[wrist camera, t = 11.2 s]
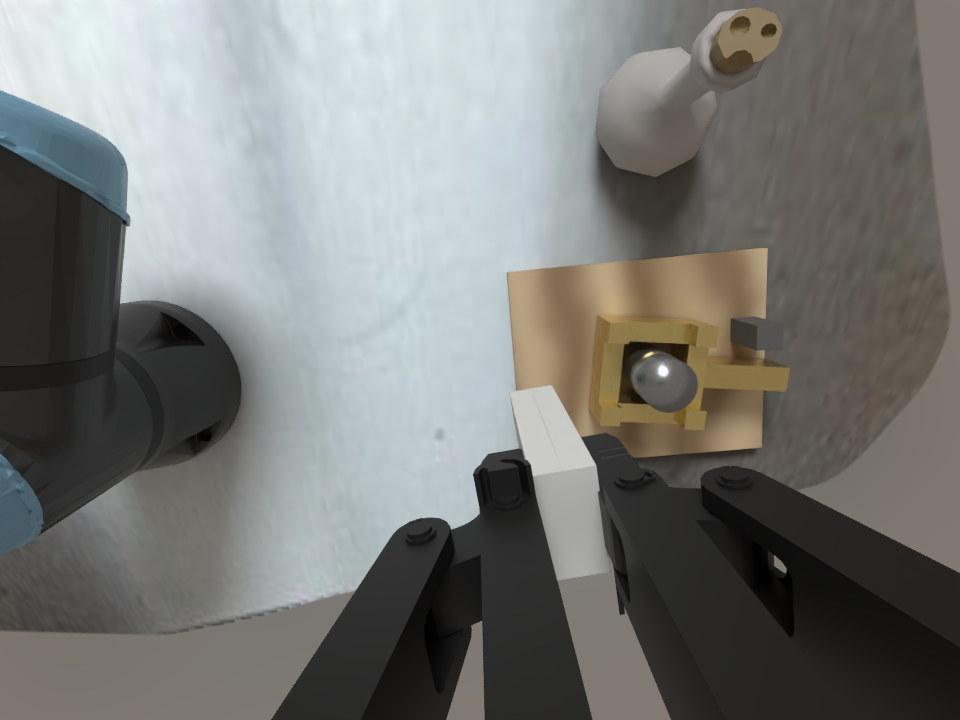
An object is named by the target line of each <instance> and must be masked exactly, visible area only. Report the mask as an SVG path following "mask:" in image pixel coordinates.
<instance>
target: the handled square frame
mask: <svg viewBox="0 0 960 720" xmlns="http://www.w3.org/2000/svg"><path fill="white" fill-rule="evenodd" d="M718 332H719V327H717V326H714V325H711V324H708V323H705V322H702V321H699V320H696V319H684V318H661V317H638V316H615V315H597V319H596V330H595V340H594V351H593V362H592V373H591V383H590V394H589V405H588V408H589V409H590V411H591V412H592V414H593V415H594V417H595V419H596V420H597V422H598V423H599V425H600V426H619V427H620V422H638V423H660V424H679V425H680V426H681V427H682V428H683V429H686V430H704V427H705V420H706V414H707V411H706V410H704V409H703V408H701V400H702V393H703V388H719V389H741V390H764V391H786V388H787V383H788V377H789V372H790V367H787V366H785V365H782V364H779V363H777V362H774V361H772V360H769V359H762V358H739V357H716V356H708V352H709V347H711V348H716V346H717V339H718ZM629 341H633V342H656V343H672V349H671V356H673V357H675V358H677V359H678V360H680V361H682V362H684V363H685V364H687V365H688V366H690V367H691V368H692V369H693V371H694V372H695V374H696V377H697V380H698V389H697V393H696V395H695V397H694V399H693V400H692V402H691V403H690V404H689V405H688V406H687V407H685V408H684V409H682V410H680V411H677V412H672V413H665V412H660V411H658V410H656V409H654V408H652V407H651V406H650V405H649V404H648V403H647V402H646V401H645V400H644V399H643V398H642V397H641V396H640V395H639V394H638V393H637V392H619V389H620V380H621V370H622V361H623V352H624V344H629Z"/></svg>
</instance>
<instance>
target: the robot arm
mask: <svg viewBox="0 0 960 720" xmlns="http://www.w3.org/2000/svg"><path fill="white" fill-rule="evenodd" d="M127 183H128V171H127V166H126V162H125V160H124V158H123V156H122V154H121V153H120V152H119V150H118V149H117V148H116V147H115V146H114V145H113V144H112V143H111V142H110V141H108V140H107V139H106V138H104V137H103V136H101V135H100V134H98V133H96V132H95V131H93V130H91V129H89V128H87V127H85V126H83V125H81V124H79V123H77V122H75V121H72V120H70V119H68V118H66V117H63V116H61V115H59V114H57V113H54V112H52V111H50V110H47V109H45V108H43V107H40V106H38V105H35V104H33V103H31V102H28V101H26V100H23V99H21V98H18V97H16V96H13V95H11V94H8V93H6V92H3V91H1V90H0V556H2V555H3V554H5V553H7V552H9V551H11V550H14V549H18V548H20V547H23V546H24V545H25V544H28V543H30V542H31V541H32V540H34V539H35V538H36V537H37V536H39V535H40V534H42V533H43V532H45V531H46V530H48V529H49V528H51V527H52V526H54V525H55V524H57V523H58V522H60V521H61V520H63V519H64V518H66V517H67V516H69V515H70V514H72V513H73V512H75V511H77V510H78V509H80V508H81V507H83V506H84V505H86V504H87V503H89V502H90V501H92V500H93V499H95V498H96V497H98V496H99V495H101V494H102V493H104V492H105V491H107V490H108V489H110V488H111V487H113V486H114V485H116V484H117V483H119V482H120V481H122V480H123V479H125V478H126V477H128V476H129V475H131V474H133V473H134V472H137V471H142V470H148V469H153V468H158V467H164V466H169V465H174V464H178V463H181V462H184V461H187V460H189V459H191V458H194V457H195V456H197V455H199V454H201V453H202V452H204V451H205V450H206V449H208V448H209V447H211V446H212V445H213V444H215V443H216V442H217V441H219V440H220V439H221V438H222V437H223V436H224V435H225V433H226V432H227V431H228V429H229V428H230V426H231V425H232V423H233V421H234V419H235V417H236V414H237V411H238V408H239V404H240V396H241V385H240V377H239V372H238V368H237V365H236V362H235V360H234V357H233V355H232V353H231V351H230V349H229V348H228V346H227V344H226V343H225V341H224V340H223V339H222V337H221V336H220V335H219V334H218V333H217V332H216V330H215V329H214V328H213V327H212V326H210V325H209V324H208V323H207V322H206V321H204V320H203V319H202V318H200V317H199V316H197V315H196V314H194V313H192V312H191V311H189V310H187V309H184V308H182V307H180V306H177V305H174V304H170V303H166V302H161V301H136V302H129V303H122V304H120V295H121V282H122V270H123V258H124V246H125V234H126V226H130V221H131V220H130V216H129V215H128V213H127ZM509 393H510V398H511V404H512V410H513V416H514V422H515V428H516V434H517V440H518V446H519V449H515V450H509V451H503V452H497V453H491V454H488V455H487V456H486V458H485V459H484V460H483V461H482V464H481V465H480V466H478V467H477V468H476V469H475V471H474V474H473V476H474V481H475V486H476V492H477V497H478V502H479V507H480V514H479V515H478V516H477V517H476V518H475V519H474V520H472V521H470V522H469V523H467V524H465V525H463V526H461V527H458V528H455V529H452V530H451V528H450V526H449V524H448V523H447V522H446V521H444V520H442V519H440V518H420V519H416V520H415V521H414V520H413V521H411V522H409V523H407V524H406V525H404V526H402V527H401V528H399V529H398V530H397V531H396V532H395V533H394V534H393V535H392V537H391V538H390V540H389V541H388V543H387V544H386V546H385V547H384V549H383V550H382V552H381V553H380V555H379V556H378V558H377V559H376V561H375V563H374V564H373V566H372V567H371V569H370V570H369V572H368V573H367V575H366V576H365V578H364V579H363V581H362V582H361V584H360V585H359V587H358V588H357V590H356V591H355V593H354V595H353V596H352V598H351V599H350V601H349V602H348V604H347V605H346V607H345V608H344V610H343V612H342V613H341V614H340V616H339V617H338V619H337V620H336V622H335V623H334V625H333V626H332V628H331V629H330V631H329V633H328V634H327V636H326V637H325V639H324V640H323V642H322V643H321V645H320V646H319V648H318V649H317V651H316V653H315V654H314V655H313V657H312V658H311V660H310V662H309V663H308V664H307V666H306V668H305V669H304V671H303V672H302V674H301V675H300V677H299V678H298V680H297V681H296V683H295V684H294V686H293V687H292V689H291V690H290V692H289V693H288V695H287V697H286V698H285V700H284V701H283V703H282V704H281V706H280V707H279V709H278V710H277V712H276V713H275V715H274V716H273V718H272V719H271V720H446V718H447V715H448V712H449V709H450V705H451V702H452V699H453V696H454V692H455V689H456V685H457V682H458V679H459V676H460V673H461V669H462V666H463V663H464V659H465V656H466V653H467V650H468V646H469V643H470V640H471V632H472V631H471V630H472V629H471V625H473V624H475V623H478V622H480V621H482V626H483V666H484V667H483V668H484V705H485V706H484V708H485V720H592V716H591V712H590V708H589V705H588V701H587V696H586V693H585V689H584V685H583V681H582V677H581V673H580V669H579V665H578V661H577V657H576V653H575V649H574V645H573V642H572V637H571V634H570V629H569V625H568V621H567V618H566V613H565V609H564V606H563V601H562V597H561V593H560V589H559V585H558V582H557V580H563V579H569V578H575V577H581V576H588V575H594V574H600V573H606V572H610V565H609V558H608V554H609V557H610V559H611V561H612V563H613V567H614V575H615V582H616V590H617V597H618V605H619V612H620V615H622V614H625V611H624V606H625V609H626V611H627V614H628V616H629V619H630V621H631V623H632V625H633V628H634V630H635V633H636V635H637V638H638V640H639V643H640V645H641V647H642V650H643V652H644V655H645V657H646V660H647V662H648V665H649V667H650V669H651V672H652V674H653V677H654V679H655V682H656V684H657V686H658V689H659V691H660V694H661V696H662V699H663V701H664V703H665V706H666V708H667V711H668V713H669V715H670V718H671V720H960V573H958V572H957V571H955V570H953V569H951V568H949V567H947V566H945V565H943V564H940V563H939V562H936V561H935V560H932V559H931V558H929V557H927V556H925V555H923V554H921V553H919V552H917V551H915V550H913V549H911V548H909V547H907V546H905V545H903V544H901V543H899V542H897V541H895V540H893V539H891V538H889V537H887V536H885V535H883V534H881V533H879V532H877V531H875V530H873V529H871V528H869V527H867V526H865V525H863V524H861V523H859V522H857V521H855V520H853V519H851V518H849V517H847V516H845V515H843V514H841V513H839V512H837V511H835V510H833V509H831V508H829V507H827V506H825V505H823V504H821V503H819V502H818V501H816V500H814V499H812V498H809V497H807V496H806V495H804V494H801V493H800V492H798V491H796V490H794V489H792V488H790V487H788V486H786V485H784V484H782V483H780V482H778V481H776V480H774V479H772V478H770V477H768V476H766V475H764V474H762V473H760V472H757V471H754V470H751V469H747V468H741V467H738V466H731V467H729V466H723V467H721V468H715V469H712V470H709V471H707V472H705V473H704V474H703V475H702V477H701V488H672V487H668V485H667V484H666V483H665V482H664V480H663V479H662V478H661V477H660V476H659V475H658V474H656V473H655V472H653V471H650V470H647V469H641V468H640V467H639V465H638V464H637V463H636V461H635V460H634V459H633V457H632V456H631V455H630V454H629V452H628V451H627V449H626V448H625V447H624V445H623V444H622V443H621V441H620V440H619V439H618V438H617V437H614V436H612V435H610V434H608V433H602V434H596V435H590V436H584V437H580V435H579V433H578V432H577V430H576V428H575V426H574V424H573V423H572V421H571V419H570V417H569V415H568V414H567V412H566V410H565V408H564V406H563V405H562V403H561V401H560V399H559V397H558V396H557V394H556V392H555V390H554V388H553V387H552V385H549V386H543V387H537V388H531V389H526V390H520V391H514V392H509ZM774 555H775V556H776V557H777V558H778V559H780V560H781V561H782V562H783V564H784V565H785V566H786V568H787V572H786V574H785V573H783V572H782V571H780V570H779V569H777V568H776V567H775V566H774Z"/></svg>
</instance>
